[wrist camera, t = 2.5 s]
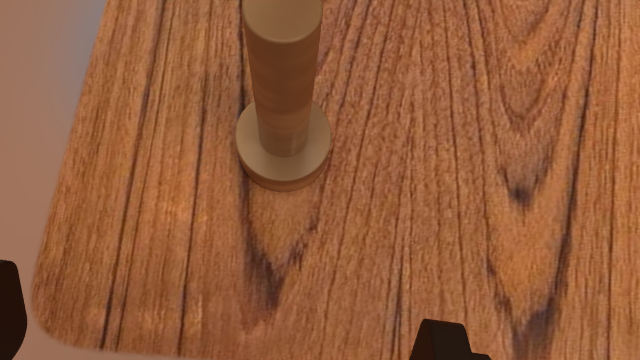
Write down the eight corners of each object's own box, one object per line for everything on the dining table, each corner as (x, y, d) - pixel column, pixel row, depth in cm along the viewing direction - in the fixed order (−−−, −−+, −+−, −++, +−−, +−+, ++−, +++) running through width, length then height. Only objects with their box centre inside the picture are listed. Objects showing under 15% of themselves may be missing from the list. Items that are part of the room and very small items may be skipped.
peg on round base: (228, 180, 25) (179, 59, 13) (251, 98, 26) (224, -78, 15) (317, 201, 25) (345, 97, 13) (336, 118, 26) (376, -43, 15)
